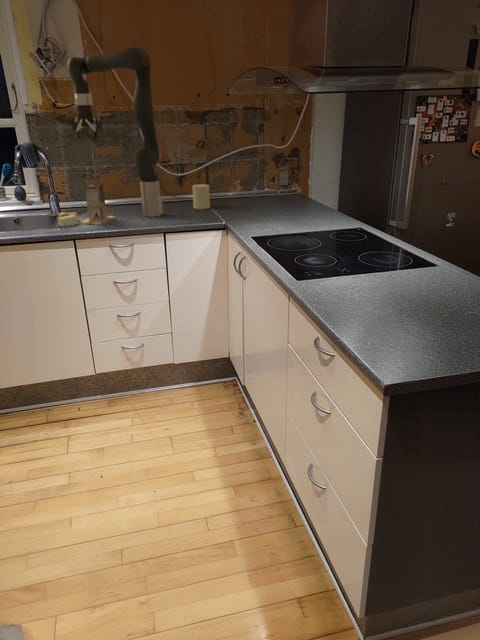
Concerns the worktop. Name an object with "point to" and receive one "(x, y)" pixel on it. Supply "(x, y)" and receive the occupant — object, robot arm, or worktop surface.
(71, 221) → the sage block
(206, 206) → the can
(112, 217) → the birch board
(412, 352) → the worktop surface
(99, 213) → the coffee box
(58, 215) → the oak block
